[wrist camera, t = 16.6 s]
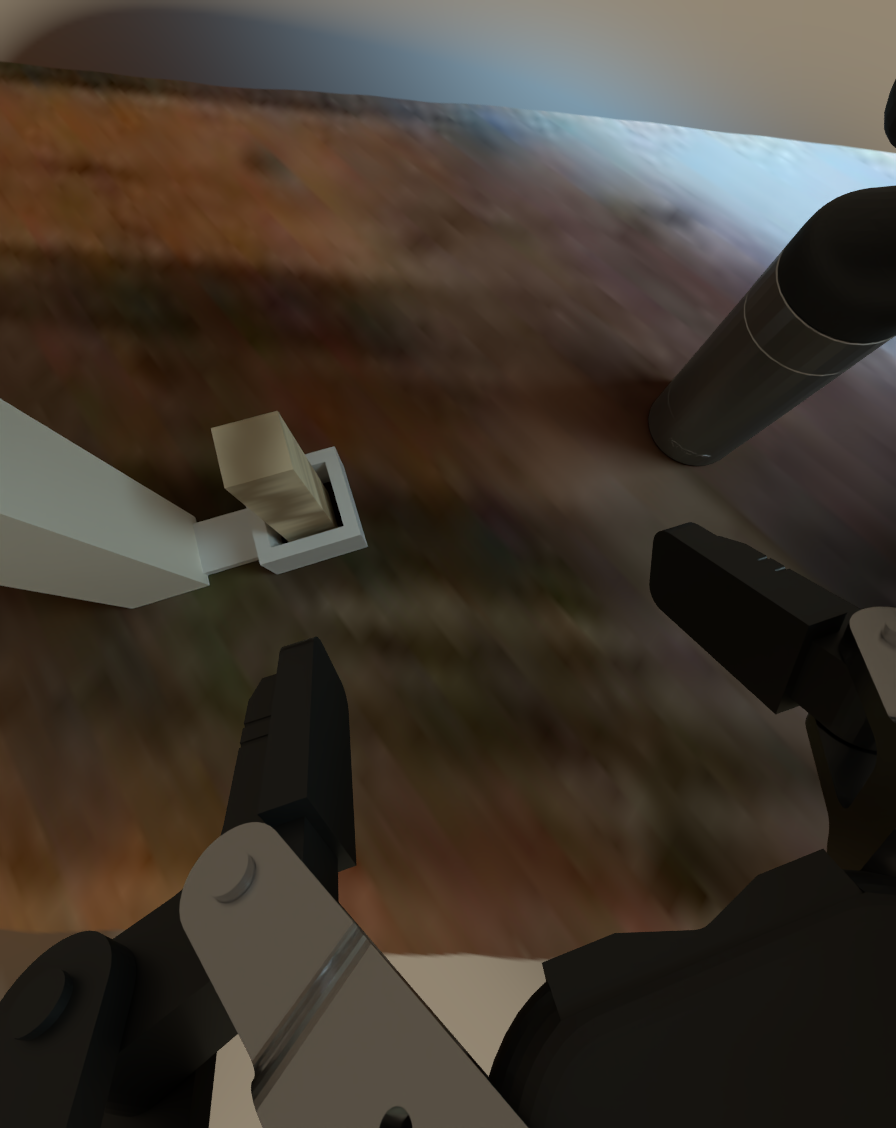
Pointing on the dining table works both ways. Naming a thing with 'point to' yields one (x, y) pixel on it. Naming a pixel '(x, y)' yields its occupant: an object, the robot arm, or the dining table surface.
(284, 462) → the block
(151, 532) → the post
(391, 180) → the dining table surface
